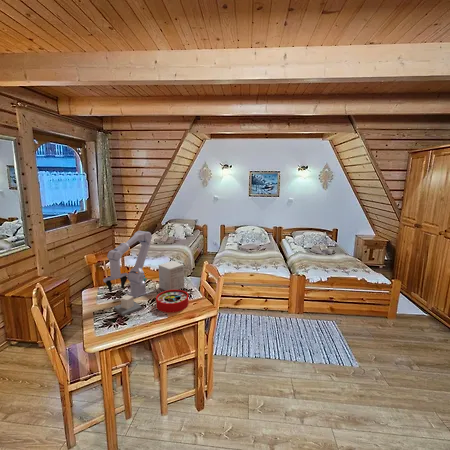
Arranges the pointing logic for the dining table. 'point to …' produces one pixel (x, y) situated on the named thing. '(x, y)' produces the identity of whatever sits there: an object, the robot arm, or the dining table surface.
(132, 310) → the stub plate
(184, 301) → the toy clock
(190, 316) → the dining table surface
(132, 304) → the block
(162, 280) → the supplement box
